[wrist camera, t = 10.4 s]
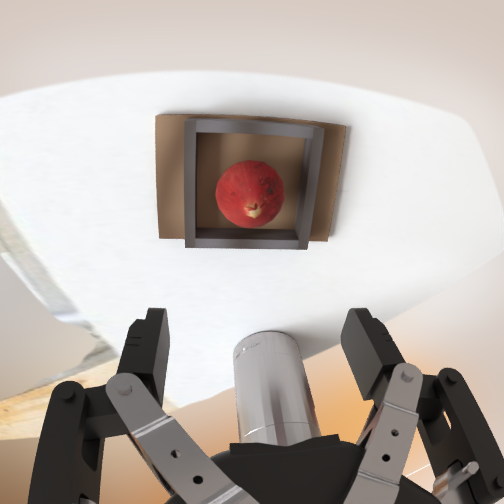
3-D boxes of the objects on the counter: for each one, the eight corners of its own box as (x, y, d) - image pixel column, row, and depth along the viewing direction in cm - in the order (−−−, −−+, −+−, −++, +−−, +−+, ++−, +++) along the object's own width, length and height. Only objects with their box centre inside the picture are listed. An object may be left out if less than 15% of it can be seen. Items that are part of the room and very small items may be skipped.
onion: (256, 140, 28) (268, 158, 21) (287, 188, 31) (308, 221, 24) (204, 174, 29) (199, 203, 22) (238, 219, 32) (243, 260, 25)
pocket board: (342, 125, 29) (355, 130, 26) (324, 237, 35) (334, 252, 32) (157, 114, 27) (149, 118, 24) (160, 234, 33) (155, 250, 30)
